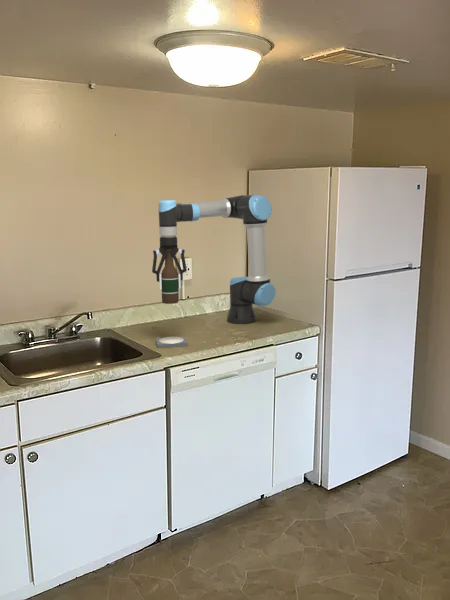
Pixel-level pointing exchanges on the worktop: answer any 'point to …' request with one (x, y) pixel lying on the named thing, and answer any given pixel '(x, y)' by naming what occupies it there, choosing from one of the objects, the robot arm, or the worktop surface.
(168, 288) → the beer bottle
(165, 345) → the grey soap dish
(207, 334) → the worktop surface
